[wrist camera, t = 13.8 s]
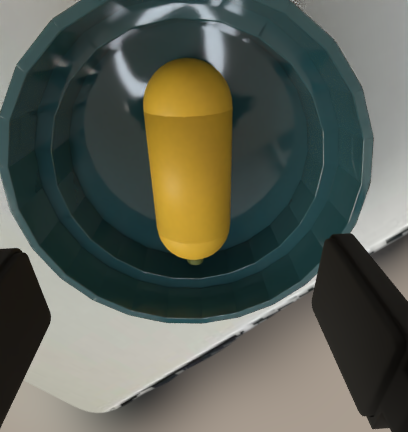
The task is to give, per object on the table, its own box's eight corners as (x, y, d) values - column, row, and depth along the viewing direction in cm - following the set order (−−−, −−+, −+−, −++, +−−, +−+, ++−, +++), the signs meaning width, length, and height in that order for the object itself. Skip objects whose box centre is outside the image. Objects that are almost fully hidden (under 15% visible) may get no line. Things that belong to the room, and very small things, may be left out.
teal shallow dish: (69, -67, 16) (2, -126, 10) (379, 63, 19) (456, 72, 14) (40, 231, 25) (-6, 288, 19) (259, 284, 28) (276, 345, 22)
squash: (138, 57, 18) (136, 61, 14) (222, 54, 19) (245, 58, 14) (159, 245, 25) (162, 288, 20) (221, 238, 25) (236, 278, 21)
